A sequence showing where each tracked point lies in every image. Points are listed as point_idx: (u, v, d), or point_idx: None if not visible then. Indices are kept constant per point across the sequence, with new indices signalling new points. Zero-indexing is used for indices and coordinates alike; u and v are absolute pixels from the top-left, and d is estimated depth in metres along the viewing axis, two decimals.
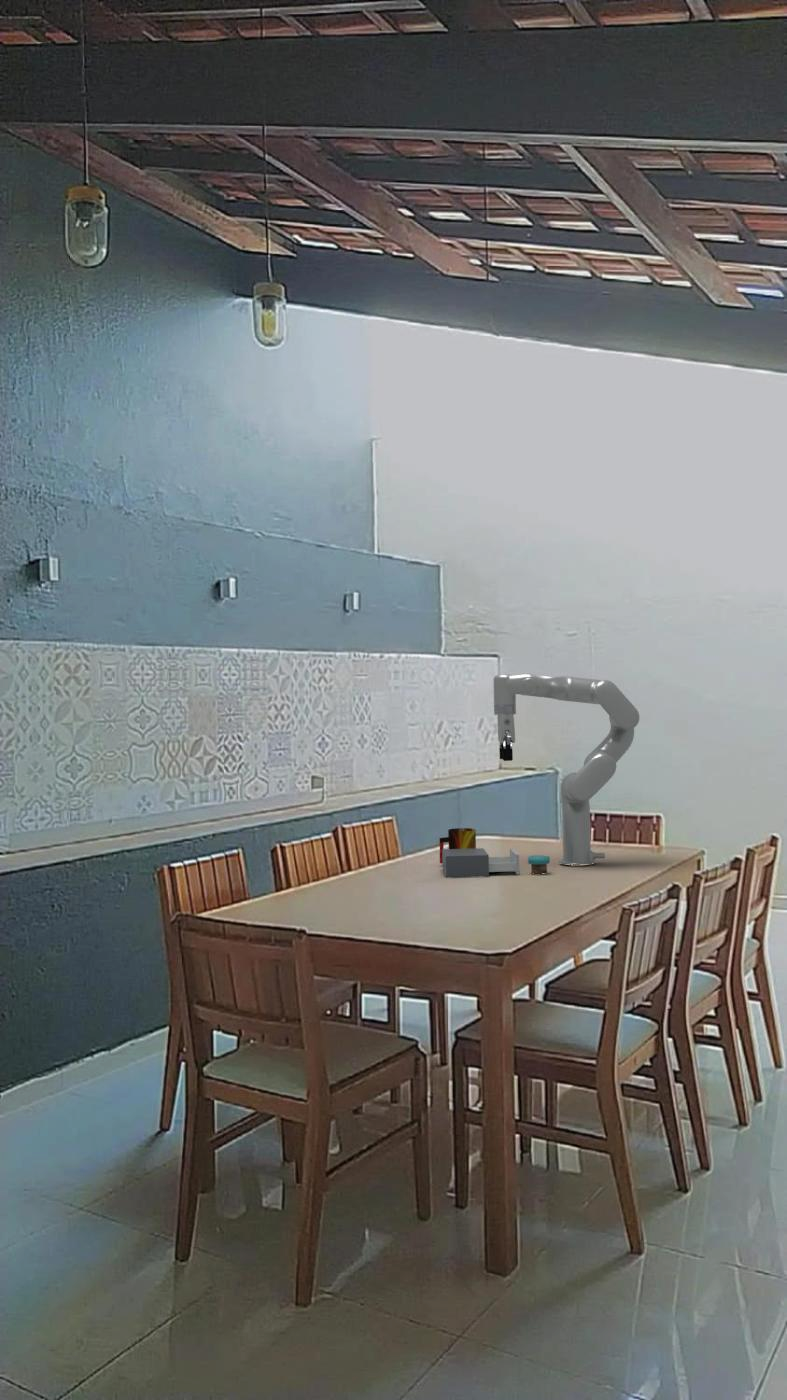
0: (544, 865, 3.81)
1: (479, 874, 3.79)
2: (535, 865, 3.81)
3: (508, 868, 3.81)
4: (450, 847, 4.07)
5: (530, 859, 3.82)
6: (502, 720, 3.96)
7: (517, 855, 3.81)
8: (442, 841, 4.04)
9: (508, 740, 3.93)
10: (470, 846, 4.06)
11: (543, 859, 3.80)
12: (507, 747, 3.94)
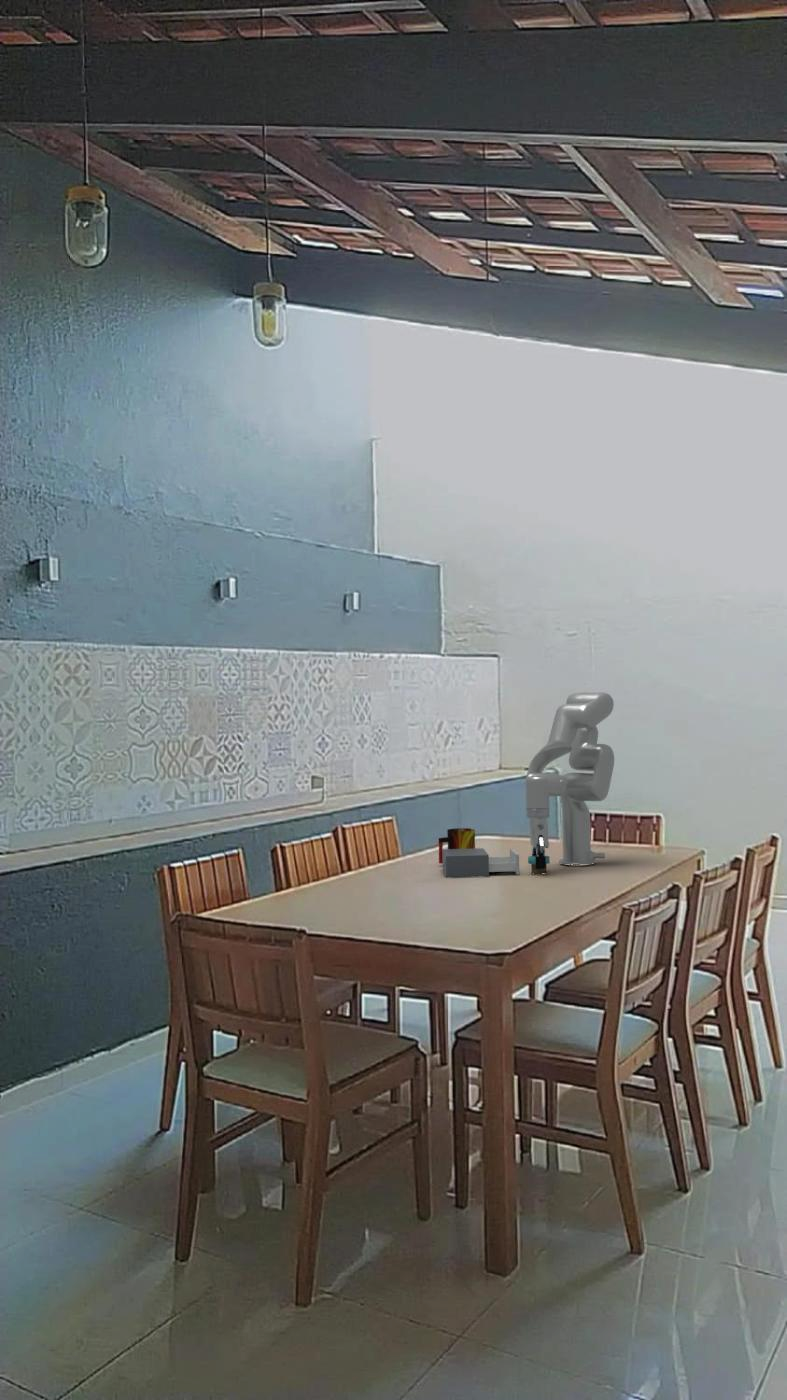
0: None
1: (479, 874, 3.79)
2: (535, 865, 3.81)
3: (508, 868, 3.81)
4: (449, 847, 4.07)
5: (530, 859, 3.82)
6: (535, 825, 3.79)
7: (517, 855, 3.81)
8: (441, 841, 4.03)
9: (541, 849, 3.76)
10: (469, 846, 4.05)
11: None
12: (540, 855, 3.78)
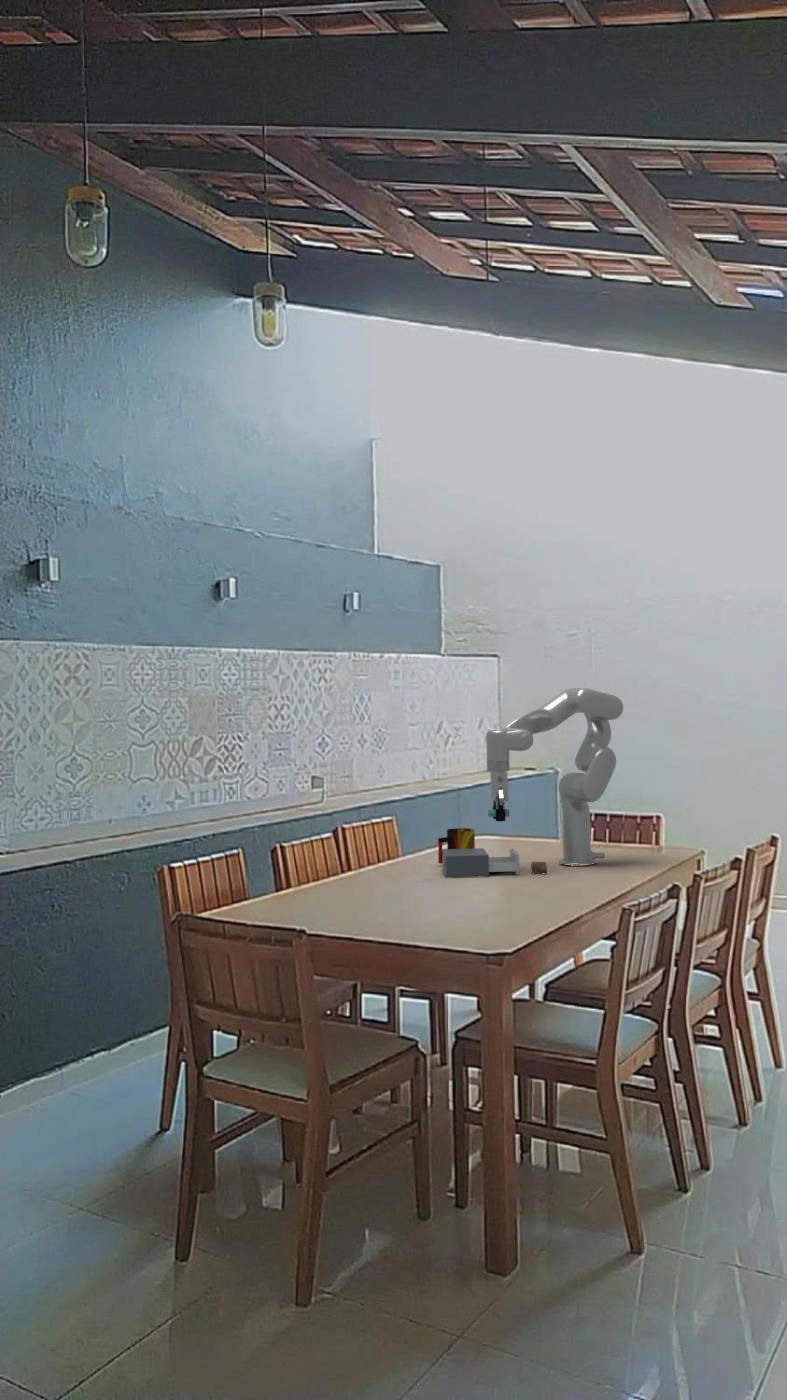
0: (544, 865, 3.81)
1: (479, 874, 3.79)
2: (535, 865, 3.81)
3: (508, 868, 3.81)
4: (449, 847, 4.07)
5: (490, 812, 3.86)
6: (495, 777, 3.83)
7: (517, 855, 3.81)
8: (441, 841, 4.03)
9: (501, 801, 3.80)
10: (469, 846, 4.05)
11: None
12: (500, 807, 3.82)
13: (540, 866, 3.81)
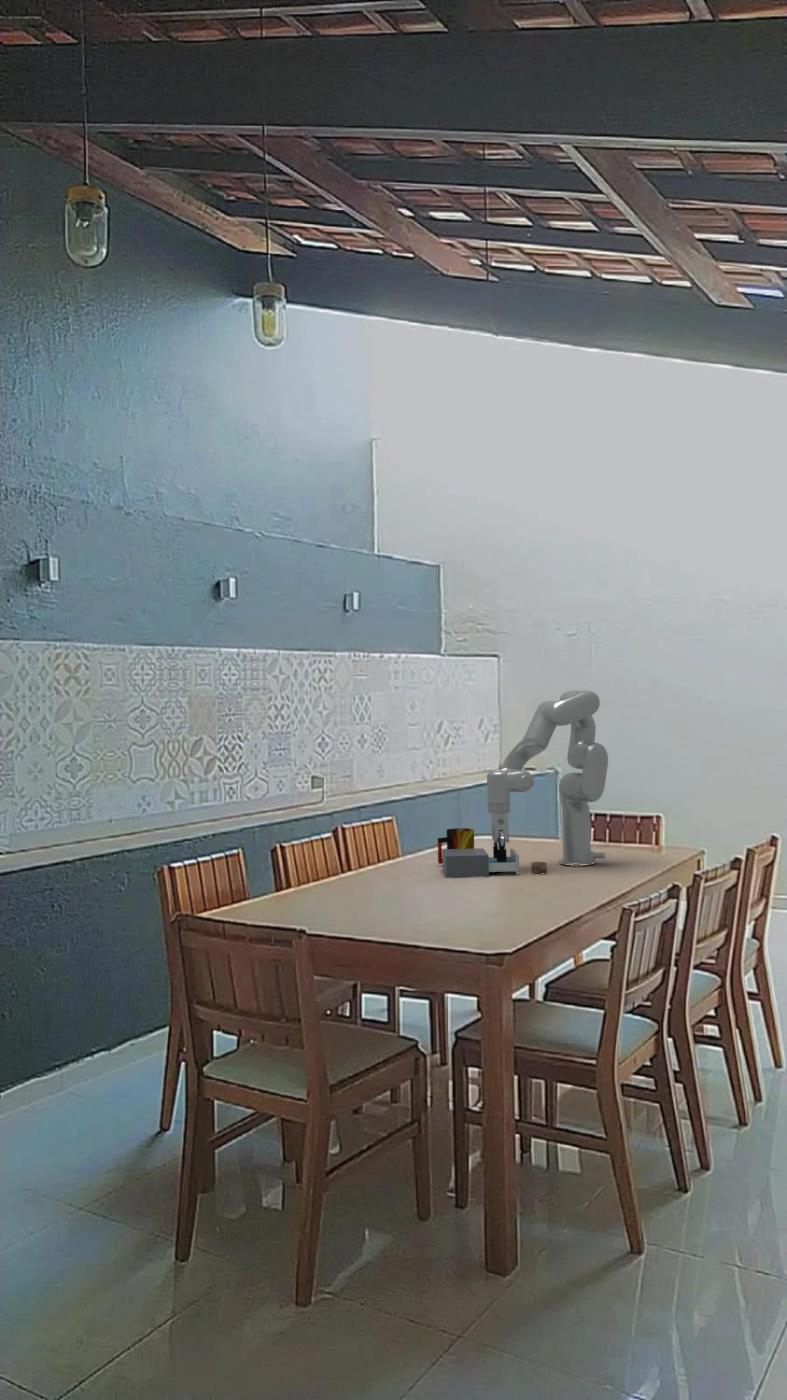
0: (544, 865, 3.81)
1: (479, 874, 3.79)
2: (535, 865, 3.81)
3: (508, 868, 3.81)
4: (448, 847, 4.07)
5: (491, 862, 3.86)
6: (496, 819, 3.83)
7: (517, 855, 3.81)
8: (440, 841, 4.03)
9: (502, 841, 3.80)
10: (468, 846, 4.05)
11: (504, 862, 3.85)
12: (501, 848, 3.82)
13: (540, 866, 3.81)
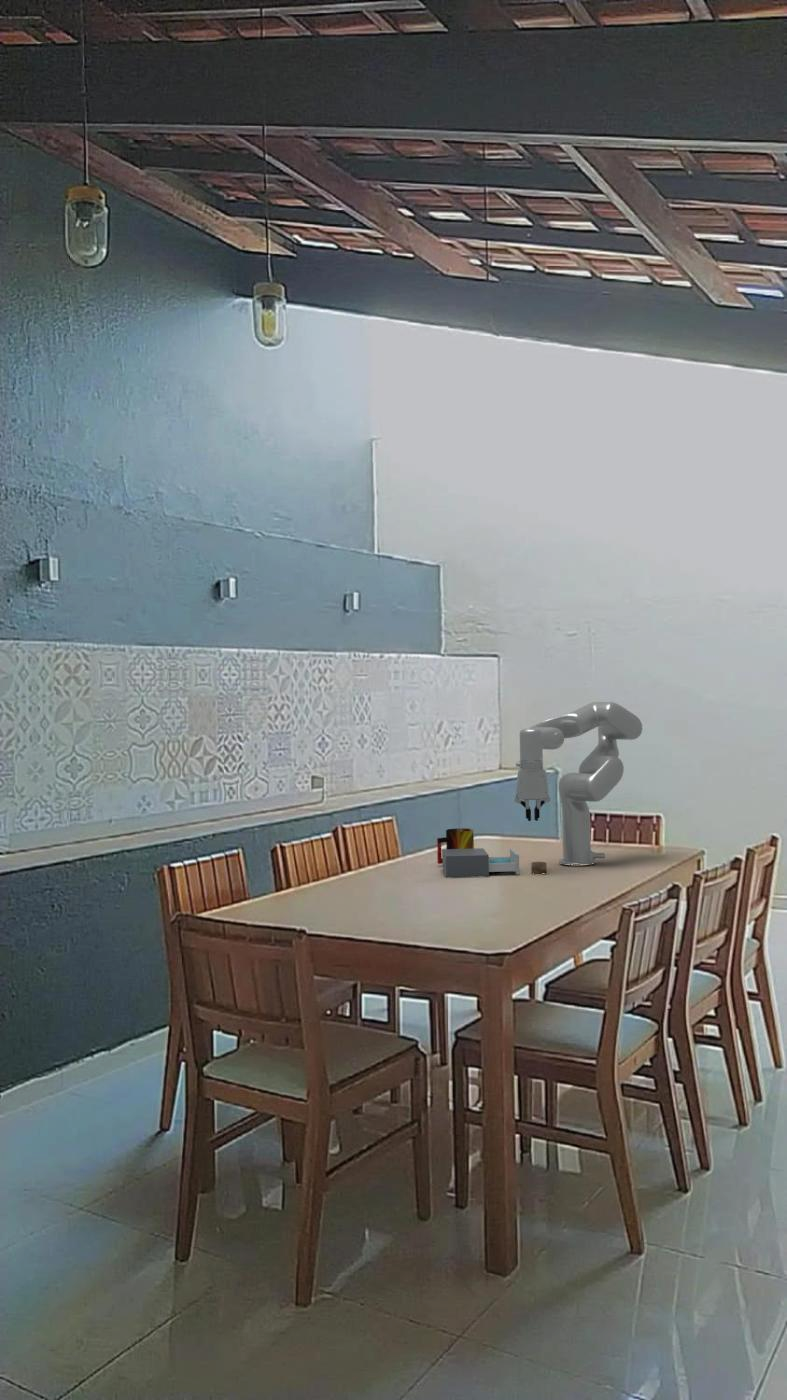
0: (544, 865, 3.81)
1: (479, 874, 3.79)
2: (535, 865, 3.81)
3: (508, 868, 3.81)
4: (448, 847, 4.07)
5: (491, 862, 3.86)
6: None
7: (517, 855, 3.81)
8: (440, 841, 4.03)
9: (517, 802, 3.88)
10: (468, 846, 4.05)
11: (504, 862, 3.85)
12: None
13: (540, 866, 3.81)
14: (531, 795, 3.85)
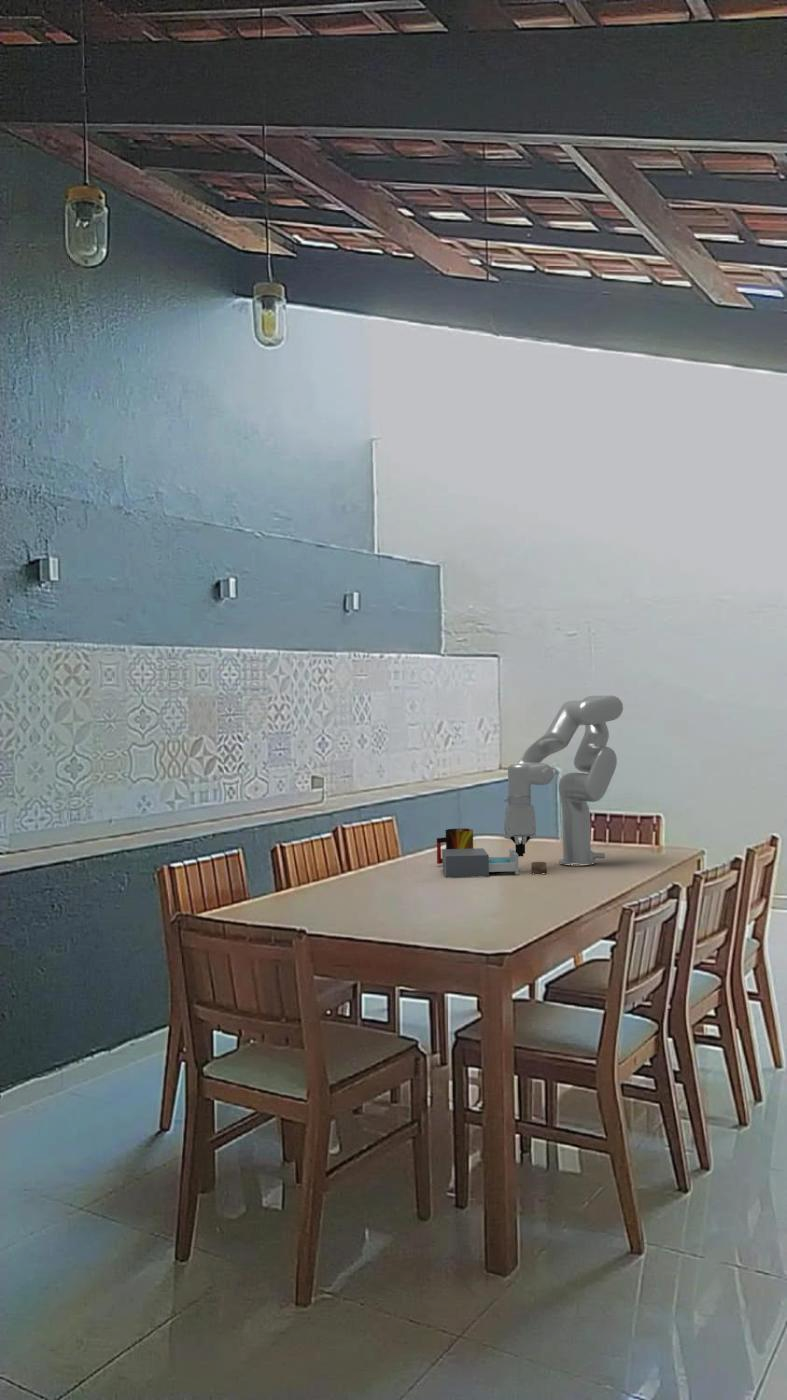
0: (544, 865, 3.81)
1: (479, 874, 3.79)
2: (535, 865, 3.81)
3: (507, 868, 3.81)
4: (447, 847, 4.07)
5: (491, 862, 3.86)
6: None
7: (516, 855, 3.81)
8: (439, 841, 4.03)
9: (507, 838, 3.88)
10: (467, 846, 4.05)
11: (504, 862, 3.85)
12: (514, 842, 3.88)
13: (540, 866, 3.81)
14: (519, 831, 3.85)
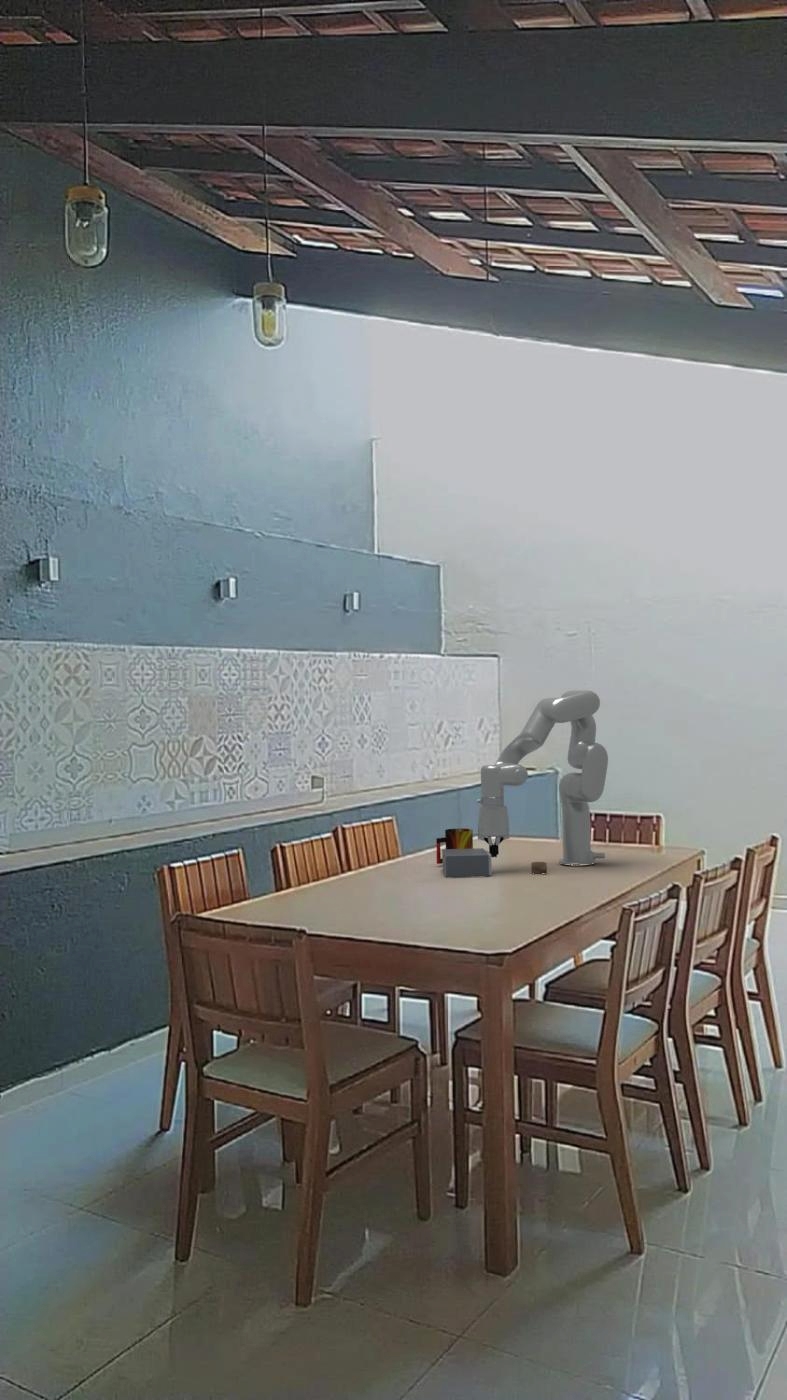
0: (544, 865, 3.81)
1: (479, 874, 3.79)
2: (535, 865, 3.81)
3: None
4: (447, 847, 4.07)
5: None
6: None
7: (489, 856, 3.81)
8: (439, 841, 4.03)
9: (481, 839, 3.88)
10: (467, 846, 4.05)
11: None
12: None
13: (540, 866, 3.81)
14: (492, 832, 3.85)
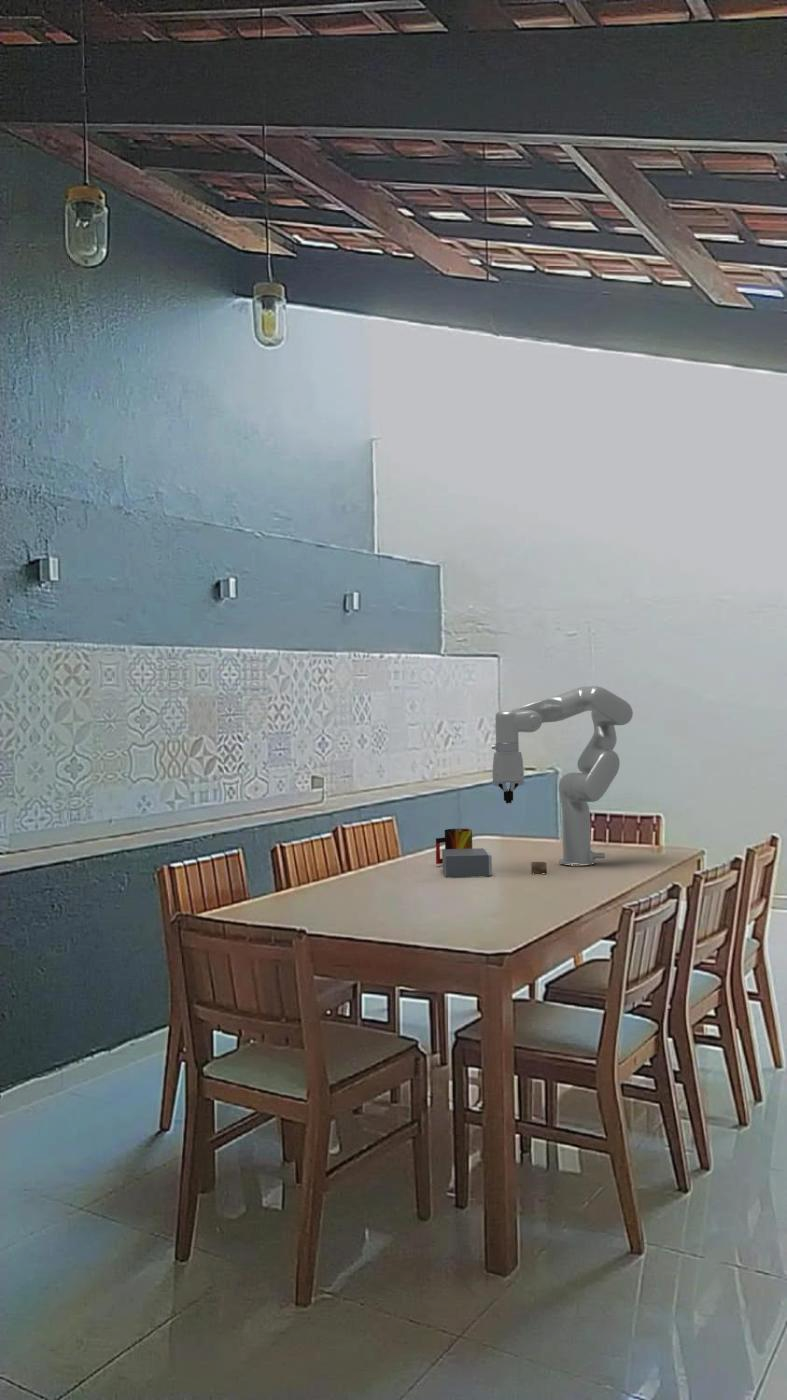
0: (544, 865, 3.81)
1: (479, 874, 3.79)
2: (535, 865, 3.81)
3: None
4: (446, 847, 4.06)
5: None
6: None
7: (490, 856, 3.81)
8: (438, 841, 4.03)
9: (495, 785, 3.88)
10: (466, 846, 4.05)
11: None
12: (502, 789, 3.88)
13: (540, 866, 3.81)
14: (507, 778, 3.85)
